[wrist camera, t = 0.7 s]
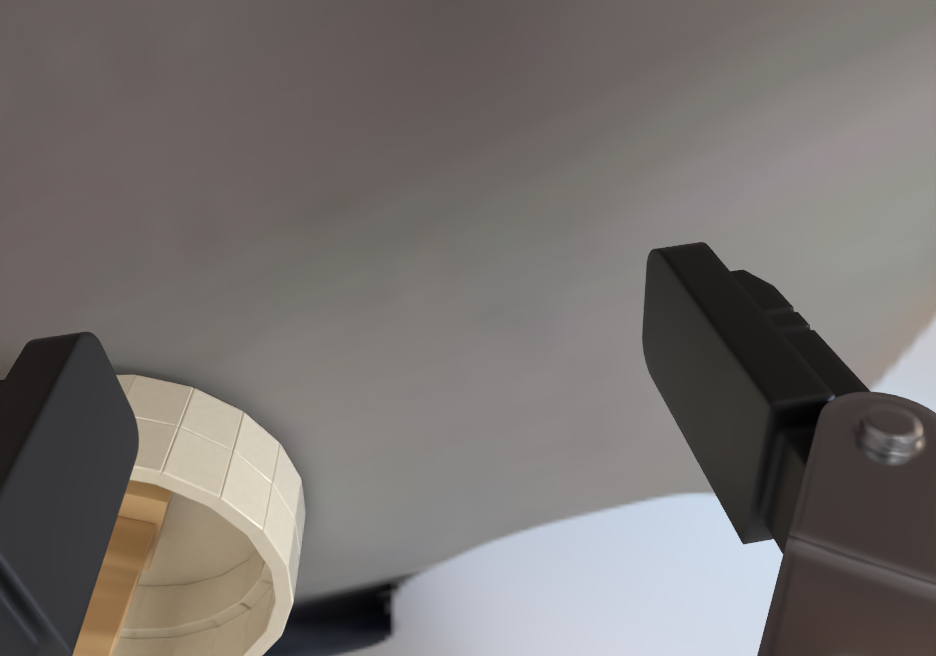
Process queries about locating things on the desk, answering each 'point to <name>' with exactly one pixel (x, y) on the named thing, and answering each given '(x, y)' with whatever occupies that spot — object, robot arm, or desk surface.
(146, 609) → the bowl
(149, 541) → the wooden t-shaped block
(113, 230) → the desk surface
